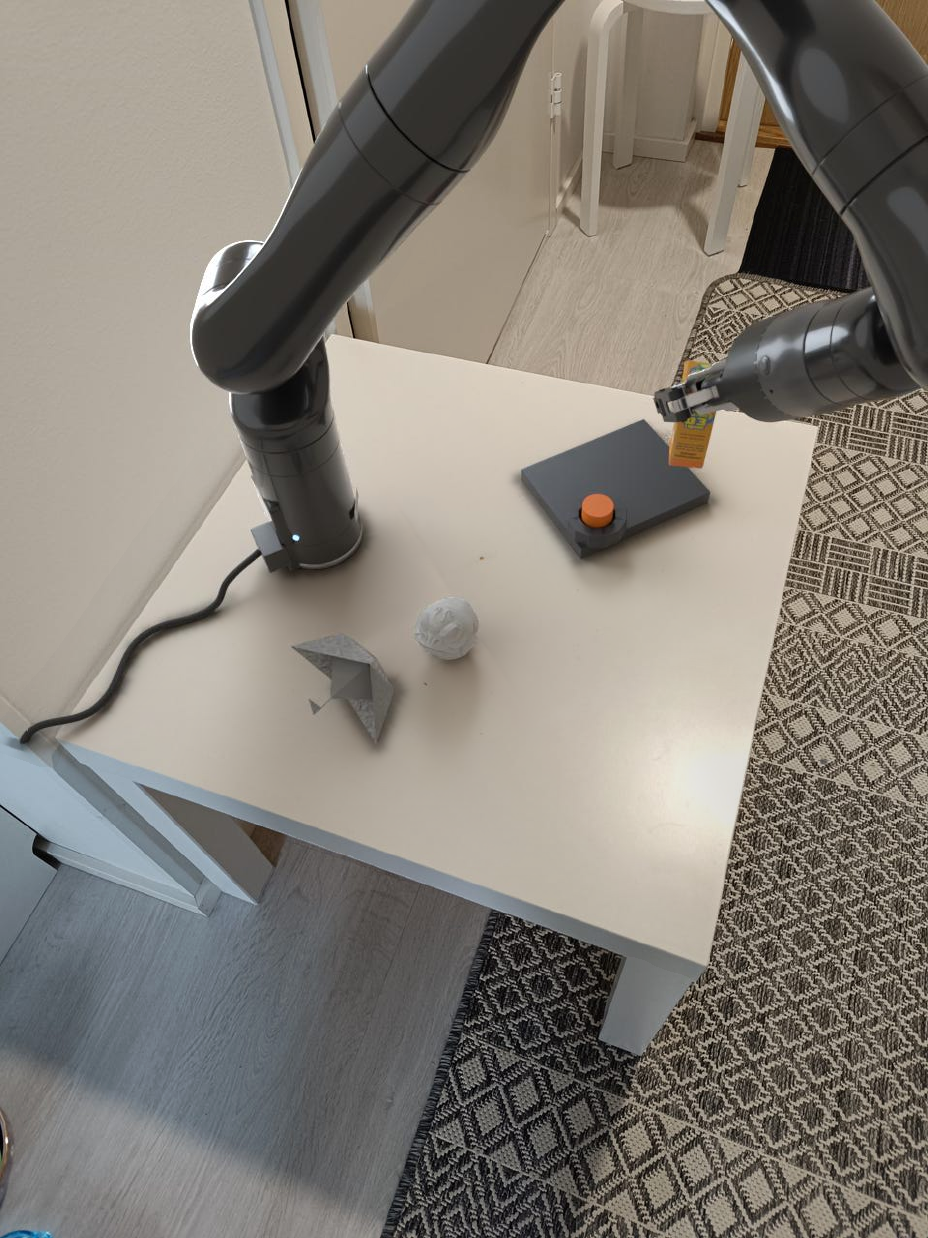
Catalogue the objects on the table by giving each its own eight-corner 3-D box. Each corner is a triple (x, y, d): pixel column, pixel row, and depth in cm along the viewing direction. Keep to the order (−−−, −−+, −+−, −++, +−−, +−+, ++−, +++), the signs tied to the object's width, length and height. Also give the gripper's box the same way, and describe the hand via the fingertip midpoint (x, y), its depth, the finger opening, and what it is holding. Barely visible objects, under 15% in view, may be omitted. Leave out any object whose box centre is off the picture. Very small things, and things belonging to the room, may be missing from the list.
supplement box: (666, 468, 83) (681, 383, 75) (669, 441, 85) (684, 356, 77) (703, 472, 82) (722, 386, 74) (705, 445, 84) (724, 359, 76)
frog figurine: (405, 665, 88) (396, 626, 83) (439, 612, 92) (433, 571, 86) (460, 689, 87) (455, 650, 81) (492, 634, 90) (490, 593, 84)
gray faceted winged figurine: (432, 691, 85) (374, 753, 79) (400, 712, 90) (343, 772, 84) (347, 596, 84) (282, 651, 78) (319, 623, 89) (255, 677, 83)
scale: (585, 566, 94) (586, 545, 91) (520, 480, 101) (520, 457, 98) (713, 509, 97) (719, 486, 94) (642, 429, 105) (645, 406, 102)
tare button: (591, 532, 92) (592, 521, 91) (575, 512, 94) (576, 500, 93) (618, 521, 93) (619, 509, 92) (602, 500, 95) (603, 489, 93)
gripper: (736, 448, 63) (627, 462, 79) (899, 379, 66) (762, 406, 82) (704, 343, 61) (600, 379, 78) (872, 277, 64) (738, 326, 81)
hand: (684, 393), depth 80 cm, fingers closed on supplement box, 4 cm apart
